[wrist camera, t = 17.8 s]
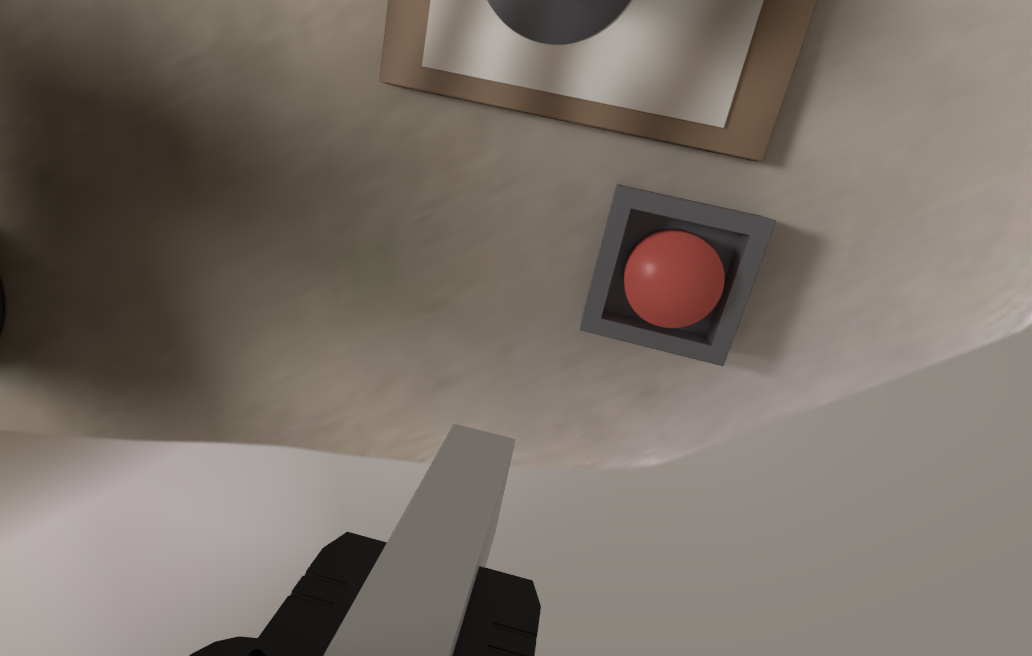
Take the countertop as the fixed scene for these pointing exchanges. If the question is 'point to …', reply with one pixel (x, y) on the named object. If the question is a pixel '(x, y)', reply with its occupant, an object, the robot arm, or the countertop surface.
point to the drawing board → (609, 62)
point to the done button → (673, 278)
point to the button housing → (721, 228)
